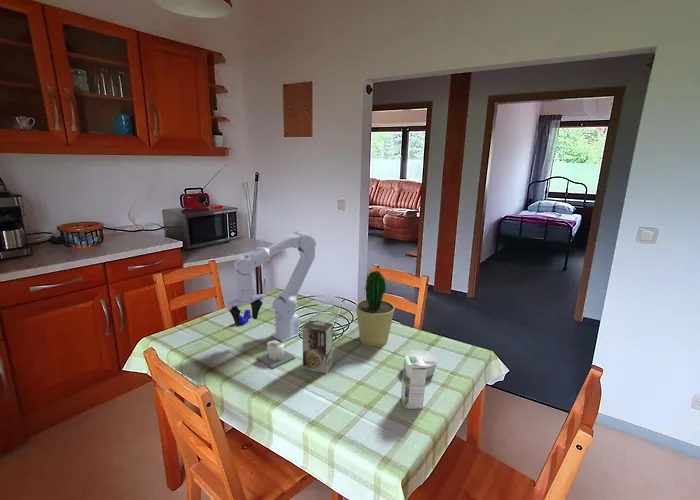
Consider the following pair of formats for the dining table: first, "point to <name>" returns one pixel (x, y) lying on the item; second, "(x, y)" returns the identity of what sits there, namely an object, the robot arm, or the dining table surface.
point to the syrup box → (413, 382)
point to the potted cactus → (374, 312)
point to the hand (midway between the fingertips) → (246, 321)
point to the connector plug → (275, 350)
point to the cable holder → (245, 317)
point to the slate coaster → (274, 363)
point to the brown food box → (317, 346)
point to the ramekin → (428, 358)
